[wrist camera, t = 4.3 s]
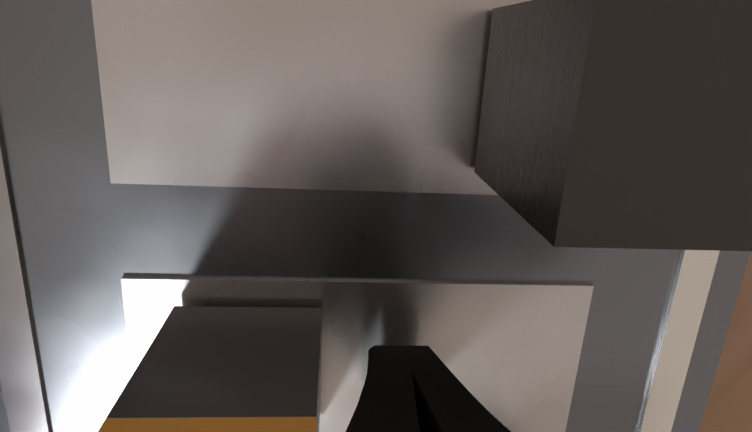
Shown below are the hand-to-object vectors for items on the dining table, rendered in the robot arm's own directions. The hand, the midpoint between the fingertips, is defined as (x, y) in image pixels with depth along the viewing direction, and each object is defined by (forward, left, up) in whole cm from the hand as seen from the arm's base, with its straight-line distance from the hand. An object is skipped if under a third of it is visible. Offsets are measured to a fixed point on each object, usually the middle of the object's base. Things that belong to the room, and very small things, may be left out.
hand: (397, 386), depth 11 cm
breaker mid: (-3, 0, -1) cm, 3 cm away
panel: (-1, 0, -2) cm, 2 cm away
